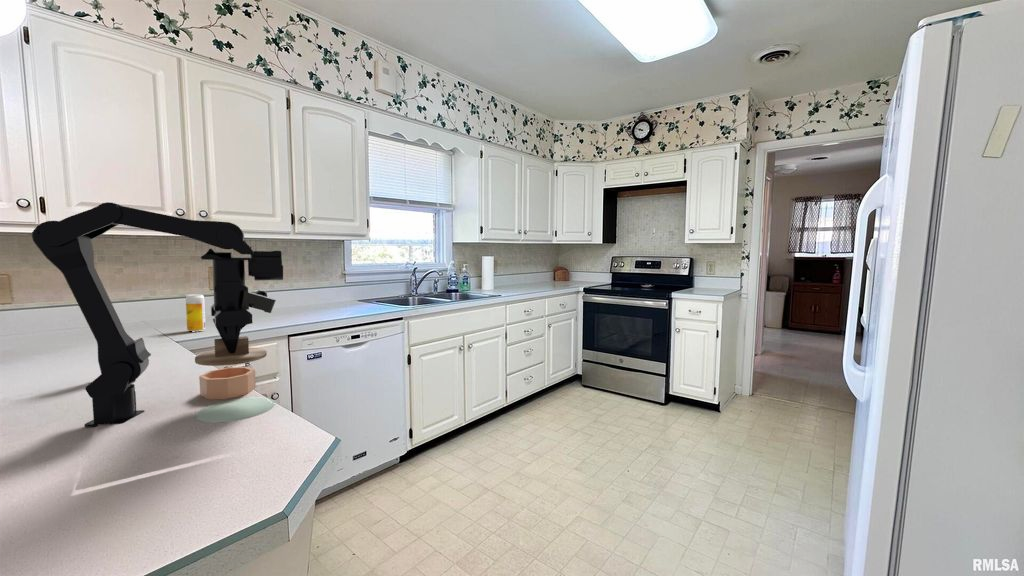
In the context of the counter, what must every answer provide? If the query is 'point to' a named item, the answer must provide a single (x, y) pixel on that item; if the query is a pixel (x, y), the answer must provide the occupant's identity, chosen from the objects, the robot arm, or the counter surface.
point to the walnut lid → (230, 354)
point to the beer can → (195, 312)
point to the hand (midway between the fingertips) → (231, 351)
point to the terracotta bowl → (227, 382)
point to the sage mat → (235, 409)
